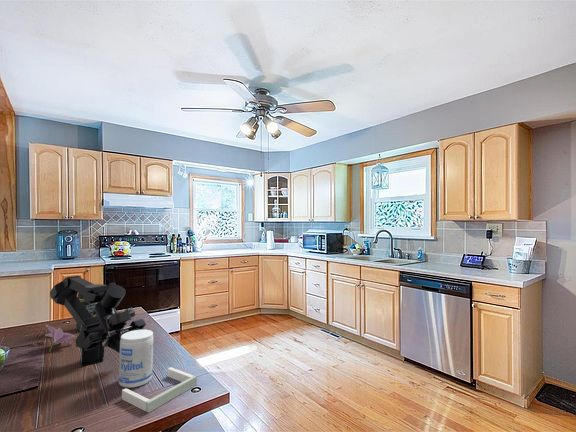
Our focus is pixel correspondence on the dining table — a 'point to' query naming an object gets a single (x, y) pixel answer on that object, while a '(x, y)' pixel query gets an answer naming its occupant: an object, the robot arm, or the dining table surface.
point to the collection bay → (151, 404)
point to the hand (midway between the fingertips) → (126, 355)
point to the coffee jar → (89, 307)
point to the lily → (59, 335)
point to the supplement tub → (135, 358)
